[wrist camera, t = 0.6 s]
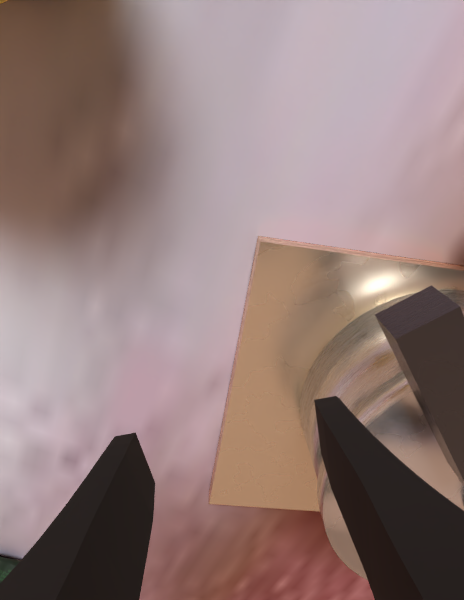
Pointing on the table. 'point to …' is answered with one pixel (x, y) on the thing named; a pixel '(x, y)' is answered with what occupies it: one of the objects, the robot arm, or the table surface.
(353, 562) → the cooker lid
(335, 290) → the tan square board
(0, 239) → the table surface
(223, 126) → the table surface
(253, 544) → the table surface
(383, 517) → the robot arm
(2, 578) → the coffee jar
